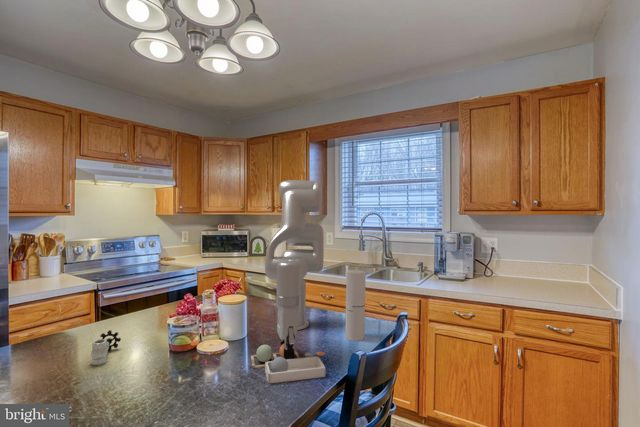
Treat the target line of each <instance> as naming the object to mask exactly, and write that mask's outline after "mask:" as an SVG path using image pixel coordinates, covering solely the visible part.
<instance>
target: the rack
mask: <svg viewBox="0 0 640 427" xmlns="http://www.w3.org/2000/svg"><path fill="white" fill-rule="evenodd" d="M278 356H280V353H279V352H273V354H272V357H273V360H274V359H275V358H277V357H278ZM294 356H295V358H296V359H297V358H301V357H300V354H299V353H298V351H297V350H295V354H294ZM255 358H257V356H256V354H252V355H250V361H251V366H252V369H259V368H260V369H261V368H265V363H264V364H256V362H255Z"/></svg>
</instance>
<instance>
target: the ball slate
mask: <svg viewBox="0 0 640 427" xmlns="http://www.w3.org/2000/svg"><path fill="white" fill-rule="evenodd" d="M276 357H277V358H275V359H274V358H273V360H271V361H272V363H271V371H272V373H275V372H284V371H287V370H288V362H287V360H286V359H285V358H283V357H281V356H276Z"/></svg>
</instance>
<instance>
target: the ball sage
mask: <svg viewBox="0 0 640 427" xmlns="http://www.w3.org/2000/svg"><path fill="white" fill-rule="evenodd" d="M273 353H274V351H273V349H272V347H271V346H270V345H268V344H261V345H260V346H259V347H258V348H257V349H256V353H255V355H256V356H257V357H256V358H257V360H258V361H259V362H262V363H265V362H268V361H270V360H271V359H272V357H273V356H272V354H273Z"/></svg>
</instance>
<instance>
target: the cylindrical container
mask: <svg viewBox="0 0 640 427" xmlns="http://www.w3.org/2000/svg"><path fill="white" fill-rule="evenodd" d="M366 274H367V273H366V271H365V270H362V269H361V270H360V269H348V270H347V271H346V283H345V285H346V286H345V288H346V290H345V291H346V294H345V328H344V329H345V331H344V332H345V339H346V340H349V341H353V342H360V341H363V340H364V339H365V321H366V320H365V318H366V317H365V316H366V315H365V314H366Z"/></svg>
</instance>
